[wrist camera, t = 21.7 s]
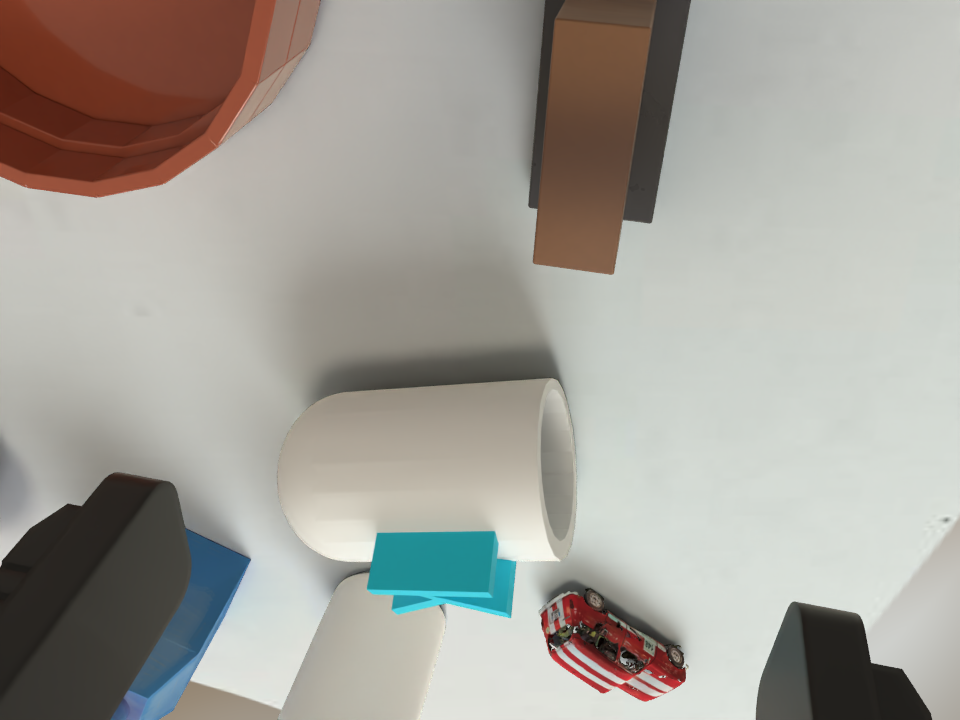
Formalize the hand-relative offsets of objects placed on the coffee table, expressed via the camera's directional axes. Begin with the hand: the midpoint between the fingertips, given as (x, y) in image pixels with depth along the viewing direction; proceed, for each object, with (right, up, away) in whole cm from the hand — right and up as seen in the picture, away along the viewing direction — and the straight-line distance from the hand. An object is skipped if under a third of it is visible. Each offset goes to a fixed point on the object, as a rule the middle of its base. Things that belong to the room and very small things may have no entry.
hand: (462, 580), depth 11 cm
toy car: (+7, -11, +34) cm, 36 cm away
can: (-5, -11, +36) cm, 38 cm away
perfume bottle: (-16, -9, +38) cm, 42 cm away
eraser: (+5, +12, +18) cm, 22 cm away
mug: (-1, -1, +29) cm, 29 cm away
